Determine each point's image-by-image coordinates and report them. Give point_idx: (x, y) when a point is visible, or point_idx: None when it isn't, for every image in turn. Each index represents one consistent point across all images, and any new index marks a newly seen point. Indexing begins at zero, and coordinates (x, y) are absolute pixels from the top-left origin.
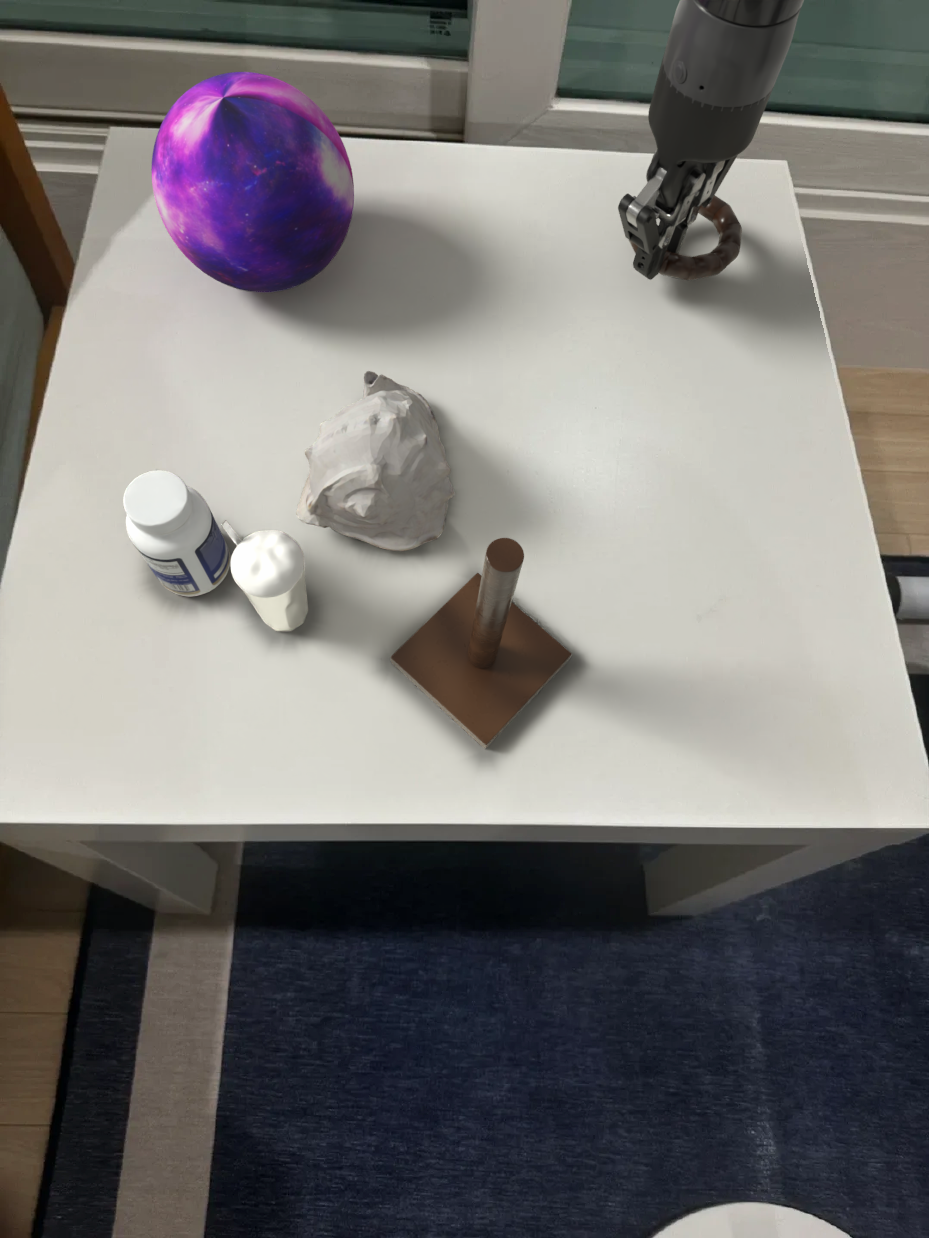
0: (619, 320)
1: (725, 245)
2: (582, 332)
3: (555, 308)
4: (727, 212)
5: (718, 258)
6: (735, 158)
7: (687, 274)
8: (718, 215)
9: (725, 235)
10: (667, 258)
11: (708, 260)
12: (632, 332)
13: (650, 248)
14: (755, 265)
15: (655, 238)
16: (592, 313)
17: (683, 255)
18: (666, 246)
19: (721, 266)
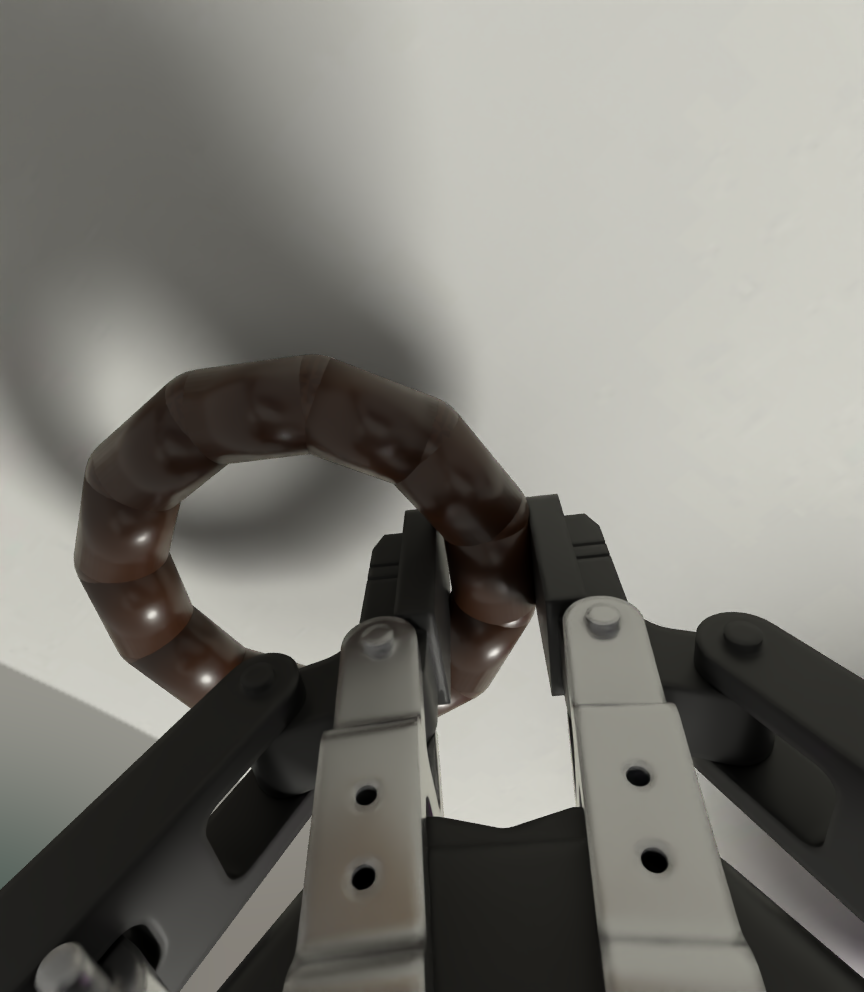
0: (668, 434)
1: (230, 442)
2: (799, 469)
3: (772, 575)
4: (111, 555)
5: (308, 409)
6: (31, 867)
7: (462, 429)
8: (148, 562)
9: (188, 480)
10: (503, 534)
11: (357, 428)
12: (679, 371)
13: (801, 655)
14: (68, 319)
15: (803, 701)
16: (708, 503)
17: (431, 508)
18: (557, 591)
19: (308, 371)
